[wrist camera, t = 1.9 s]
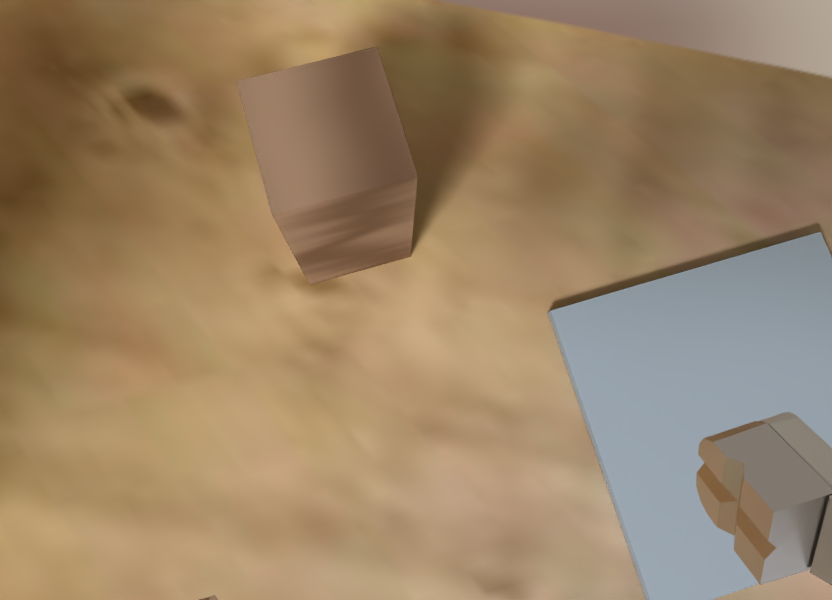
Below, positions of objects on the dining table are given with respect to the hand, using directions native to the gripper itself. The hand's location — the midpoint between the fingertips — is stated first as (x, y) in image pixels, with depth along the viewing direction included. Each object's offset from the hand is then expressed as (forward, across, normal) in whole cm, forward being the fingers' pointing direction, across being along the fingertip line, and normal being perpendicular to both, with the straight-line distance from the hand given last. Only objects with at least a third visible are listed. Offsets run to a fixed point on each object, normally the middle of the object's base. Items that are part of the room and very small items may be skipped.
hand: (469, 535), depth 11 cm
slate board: (+13, -15, +15) cm, 25 cm away
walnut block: (+23, 0, +5) cm, 23 cm away
